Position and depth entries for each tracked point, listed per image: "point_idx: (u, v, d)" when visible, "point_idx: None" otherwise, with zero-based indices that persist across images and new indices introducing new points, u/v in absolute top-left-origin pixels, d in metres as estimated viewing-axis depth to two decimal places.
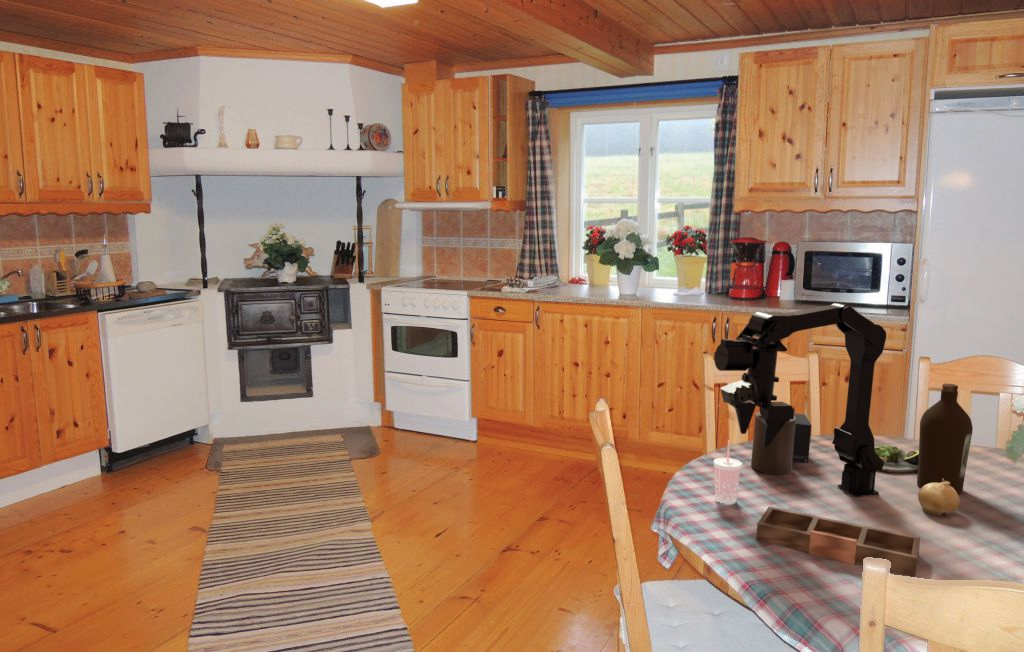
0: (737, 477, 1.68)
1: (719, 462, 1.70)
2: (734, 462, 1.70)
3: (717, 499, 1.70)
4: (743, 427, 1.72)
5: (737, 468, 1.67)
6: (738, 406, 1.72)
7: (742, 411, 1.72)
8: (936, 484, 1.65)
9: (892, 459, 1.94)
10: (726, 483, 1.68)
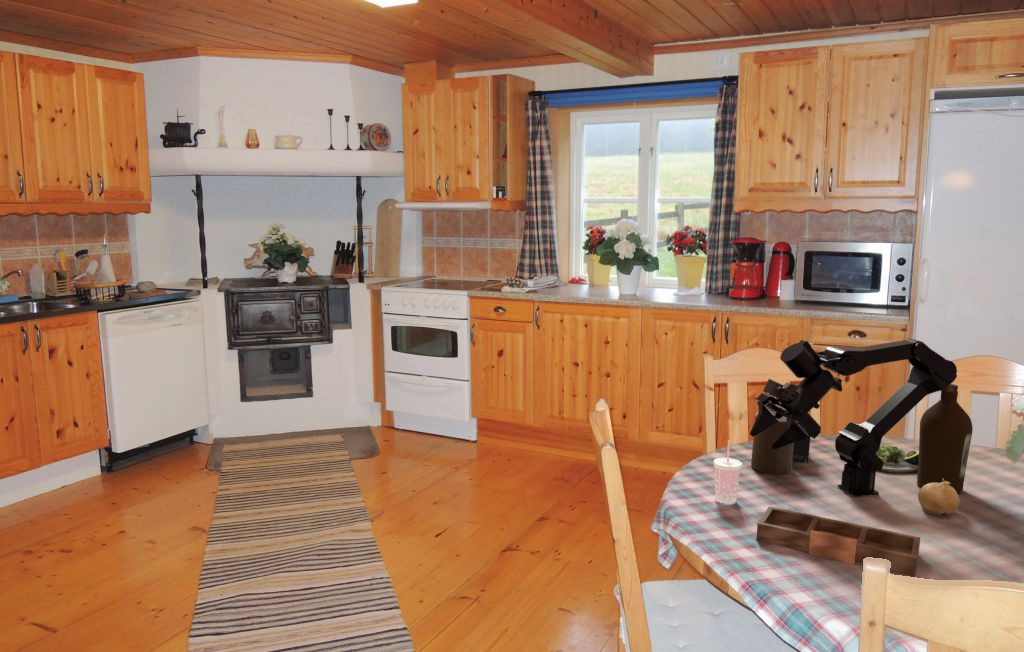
0: (737, 477, 1.68)
1: (719, 462, 1.70)
2: (734, 462, 1.70)
3: (717, 499, 1.70)
4: (755, 430, 1.74)
5: (737, 468, 1.67)
6: (764, 410, 1.75)
7: (764, 417, 1.75)
8: (936, 484, 1.65)
9: (892, 459, 1.94)
10: (726, 483, 1.68)
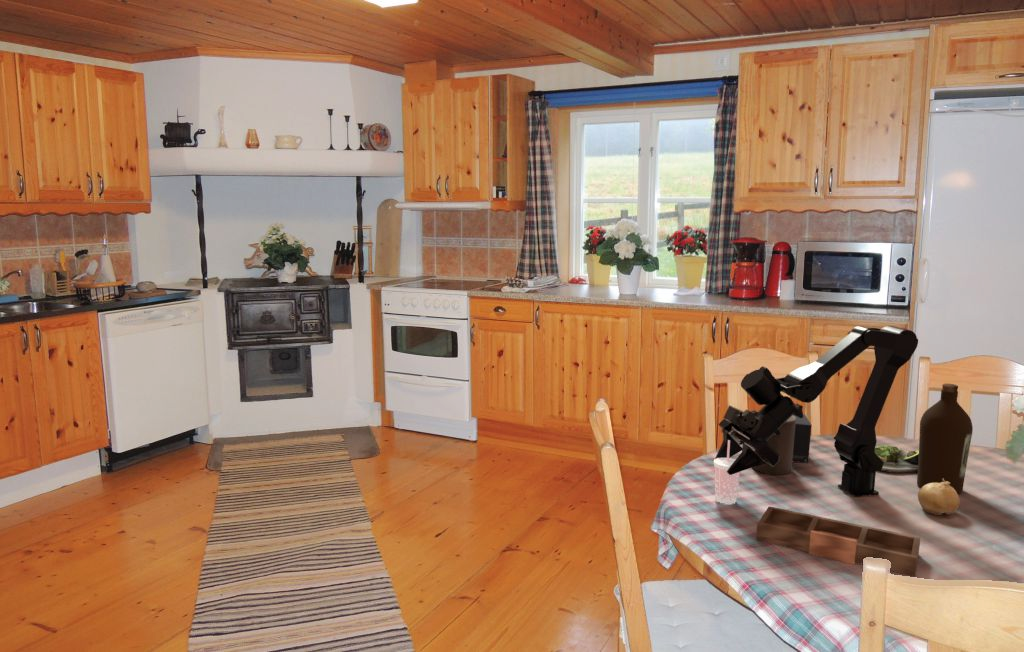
0: (737, 477, 1.68)
1: (719, 462, 1.70)
2: None
3: (717, 499, 1.70)
4: None
5: None
6: (728, 438, 1.73)
7: None
8: (936, 484, 1.65)
9: (892, 459, 1.94)
10: (726, 483, 1.68)
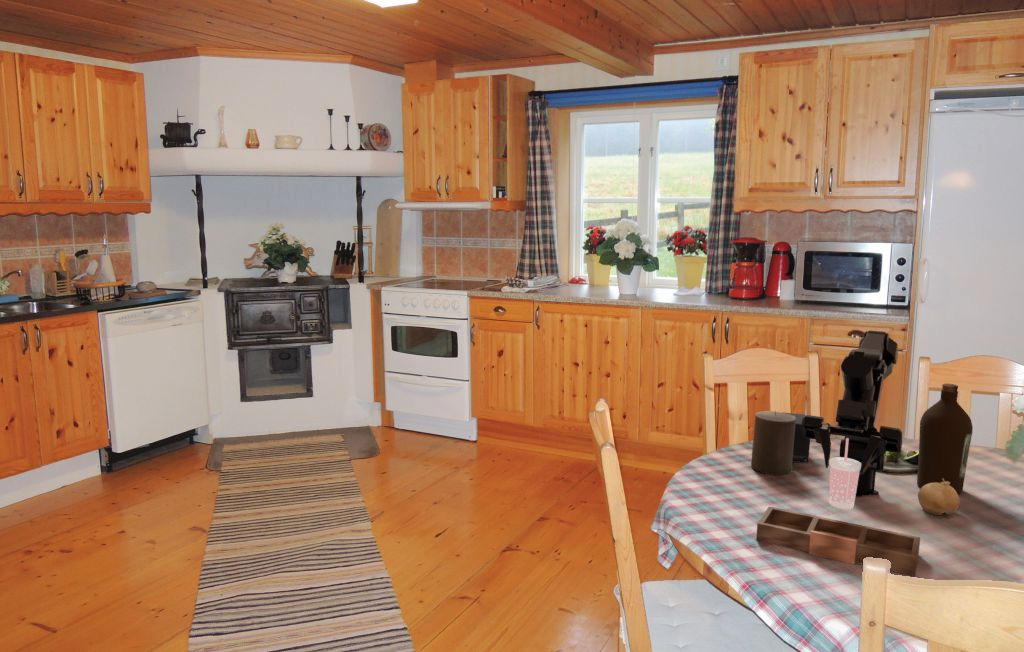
0: None
1: (841, 465, 1.53)
2: None
3: (842, 505, 1.53)
4: (828, 460, 1.55)
5: None
6: (829, 436, 1.57)
7: (829, 443, 1.57)
8: (936, 484, 1.65)
9: (892, 459, 1.94)
10: (854, 485, 1.52)
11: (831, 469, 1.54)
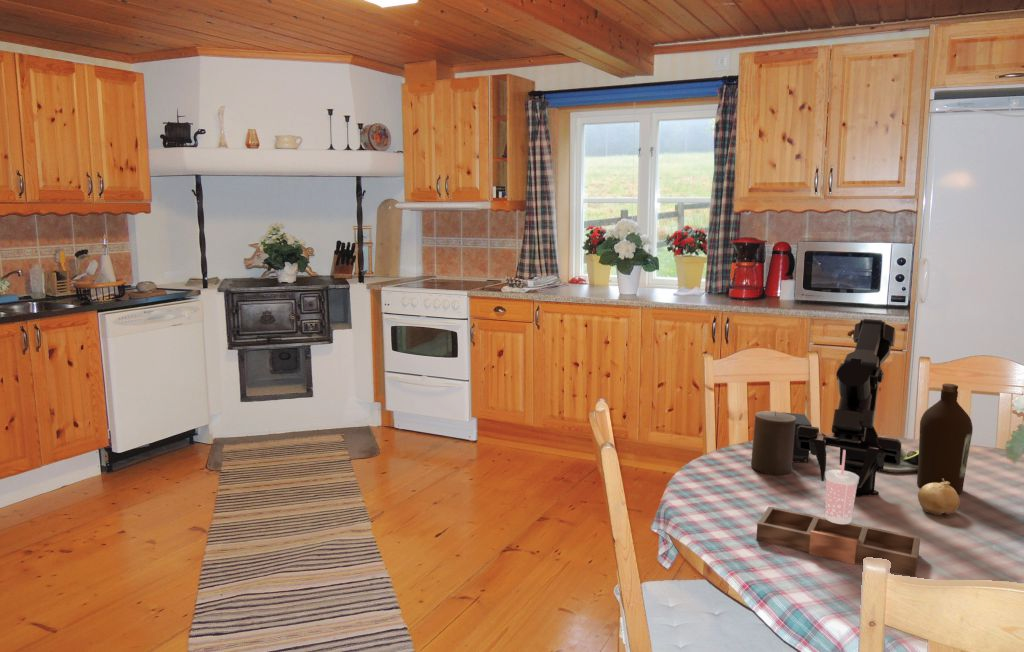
0: None
1: (838, 478, 1.45)
2: (843, 473, 1.47)
3: (839, 521, 1.45)
4: (824, 472, 1.47)
5: None
6: (824, 447, 1.49)
7: (825, 455, 1.49)
8: (936, 484, 1.65)
9: None
10: (852, 500, 1.45)
11: (827, 482, 1.46)
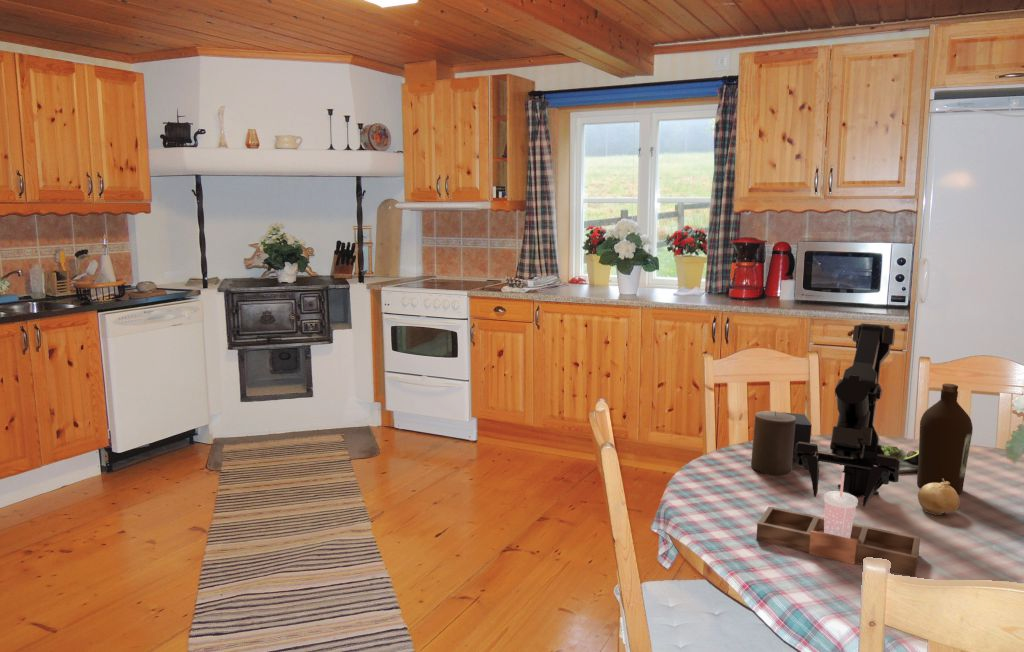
0: None
1: (836, 500, 1.45)
2: (842, 495, 1.48)
3: None
4: (817, 488, 1.48)
5: None
6: (817, 463, 1.50)
7: (817, 470, 1.50)
8: (936, 484, 1.65)
9: None
10: (850, 522, 1.45)
11: (826, 505, 1.47)
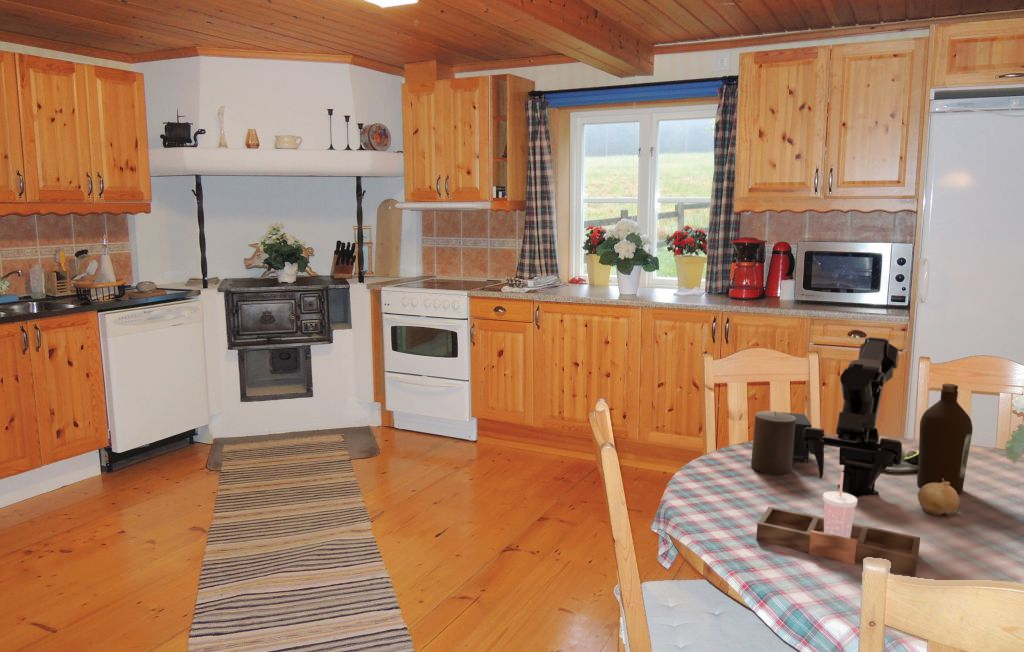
0: None
1: (836, 500, 1.46)
2: (841, 495, 1.48)
3: None
4: (822, 470, 1.57)
5: None
6: (822, 446, 1.59)
7: (823, 454, 1.59)
8: (936, 484, 1.65)
9: None
10: (850, 522, 1.45)
11: (825, 504, 1.47)
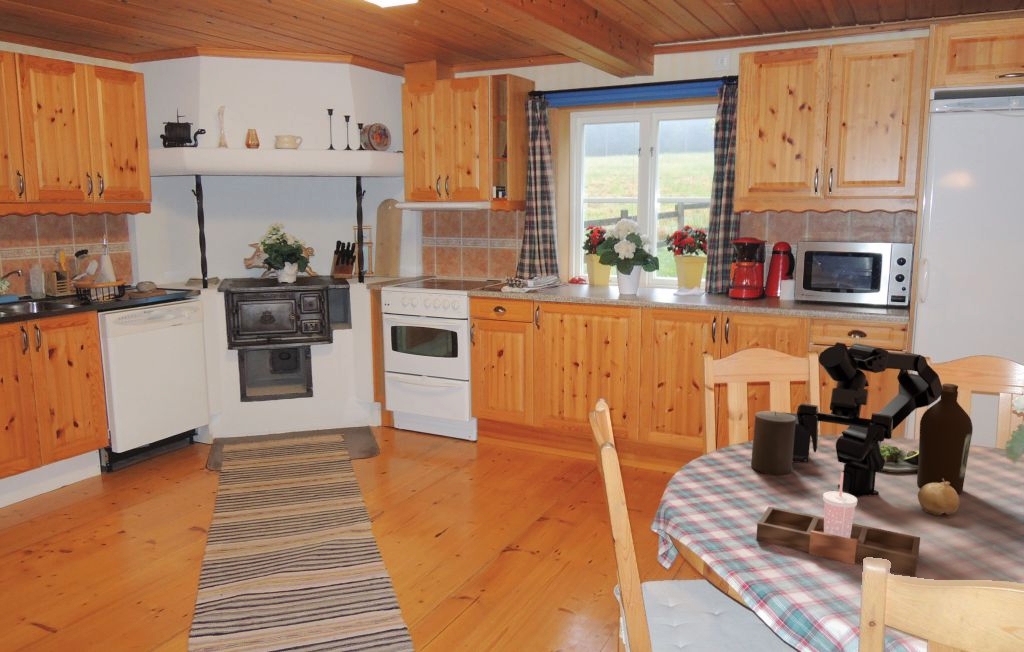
0: None
1: (836, 500, 1.46)
2: (841, 495, 1.48)
3: None
4: (816, 444, 1.64)
5: None
6: (816, 422, 1.65)
7: None
8: (936, 484, 1.65)
9: (892, 459, 1.94)
10: (850, 522, 1.45)
11: (825, 504, 1.47)
